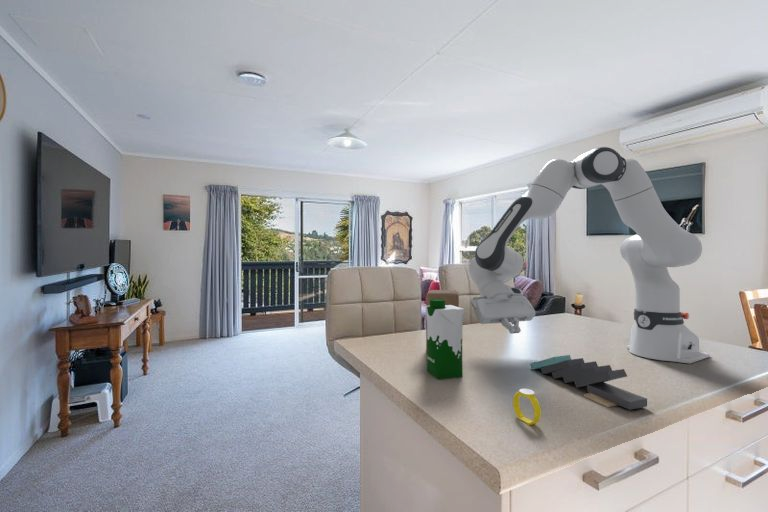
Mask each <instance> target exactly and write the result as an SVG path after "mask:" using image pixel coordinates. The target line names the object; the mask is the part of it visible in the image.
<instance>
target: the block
mask: <svg viewBox="0 0 768 512" xmlns="http://www.w3.org/2000/svg"><path fill="white" fill-rule="evenodd" d="M425 297H426V298H425V299H426V300H425V301H426V302H425V304H426V305H425V307H426V306H430V299H444V300H445V305H453V306H456V307H459V303H460V302H459V301H460V299H459V298H460V297H459V291H458V290H451V289H450V290H448V289H445V290H444V289H431V290H428V292H427V293H426V295H425ZM459 308H460V307H459ZM425 316H426V320H425V322H426V323H425V324H426V326H425V329H426V330H425V331H426V332H425V339H426V341H425V342H426V343H425V344H426V345H425V346H426V348H425V350H426V351H425V352H426V354H427V315H426V314H425Z"/></svg>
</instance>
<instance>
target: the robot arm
mask: <svg viewBox="0 0 768 512" xmlns="http://www.w3.org/2000/svg"><path fill="white" fill-rule="evenodd" d="M599 185H601V186H604V188H606V190H607V191H608V193H609V194H610V197H611V199H612V202H613V204H614V206H615V209H616V211H617V213H618V215H619V217H620V220H621V221H622V223H623V224H624V225H625V226H627V227H628V228H630V229H632V231H634V232H635V234H634V235H631V236H629V237H627V238H625V239H624V240H623V241H622V243H621V245H620V247H619V248H620V250H619V251H620V255H621V257H622V258H623V260H625V262H626V263H627V265H628V266H629V268H630V271H631V274H632V277H633V280H634V286H635V287H634V288H635V308H634V310H633V319H634V323H633V324H632V325H631V330H630V339H629V344H626V349H628V350H629V353H631V354H633V355H635V356H638V357H643V358H646V359H650V360H651V359H652V360H657V361H666V362H677V363H683V364H693V363H696V362H698V361H701V360H704V359H707V358H710V357H711V355H710V353H709V352H706V351H704V350H701V349H700V339H699V336H697V335H696V334H695V333H694V332H693V331H692V330H690V329H689V328H688V327H687V326H686V325H685V321H684V320H689V318H690V314H689V312H682V311H680V307H681V305H680V304H681V303H680V300H681V299H680V297H681V296H680V295H681V293H680V292H681V291H680V290H681V289H680V287H679V284H677V282H675V281H674V279H673V278H672V277H671V275H670V272H669V270H668V268H680V267H684V266H689V265H692V264H694V263H696V262H698V260H699V259H700V257H701V255H702V253H703V245H702V242H701V240H700V238H699V237H698V236H696V235H695V234H693V233H691V232H689V231H687V230H686V229H685V228H683V227H681V226H680V225H679V224H678V223H677V221H675V220H674V219H673V218H672V216H670V214H669V213H668V212H667V211H666V209H665V208H664V206H663V203H662V202H661V200H660V197H659V196H658V193H657V191H656V189H655V187H654V184H653V183H652V181H651V179H650V177H649V175H648V174H647V172H646V170H645V169H644V168H643V166H642V164H640V162H639V161H638V160H636V159H633V158H624V157H623V156H621V155H620V153H619V152H618V151H616V150H615V149H613V148H611V147H608V146H601V147H595V148H593V149H591V150H588V151H586V152H584V153H582V154H580V155H578V156H577V157H576V158H574V159H572V160H570V161H567V160H566V159H561V158H554V159H551V160H549V161H548V162H546V163H545V165H544V166H543V167H542V169H540V171H539V172H538V173H537V175H536V176H535V178H534V179H533V181H532V182H531V184H530V186H529V187H528V189H527V190H526V192H525V193H524V194H523V195H522V196H519V197H518V198H516V199H515V200H514V201H513V202H512V204H510V206H509V207H508V208H507V209H506V211H505V212H504V213H503V214H502V216H501V218H500V219H499V220H498V222H496V224H495V226H494V227H493V229H492V230H491V231H490V232H489V233H488V235H486V236H485V237H484V238H483V239H482V240H481V241H480V242H479V243H478V245H477V246H476V248H475V253H474V257H473V258H472V259H470V261H469V263H468V273H469V275H470V278H471V281H472V283H473V285H474V286H475V287H476V288H477V289H478V293H479V295H480V296H478V297H477V296H474V297H472V298H471V299H470V304H471V306H472V308H473V313H474V315H475V317H476V320H477V322H478V323H479V324H480V325H487V324H489V325H490V324H501V326H503V327H504V328H505V329H506V330H508V332H509V334H519V333H521V331H522V329H521V327H520V322H528V321H529V322H530V321H532V320H533V319H534V317H535V316H536V310H535V308H534V306H533V305H532V303H531V302H530V301H529V299H528V297H526V296H524V292H523V290H522V289H521V288H517V287H513V286H510V285H507V284H505V283H506V282H509V281H510V280H512V279H514V278H516V277H517V276H518V275H520V273H522V271H523V270H524V266H525V260H524V257H523V255H522V254H521V253H519V252H518V251H517V250H515V249H513V248H511V247H510V246H508V242H509V240H511V238H512V237H513V235H514V234H515V233H516V231H517V230H518V228H519V227H520V225H522V223H523V222H525V221H527V220H531V219H536V220H537V219H538V220H541V219H542V220H543V219H546V218H549V217H551V216H553V214H555V213H556V212H557V210H558V209H560V207H561V204H562V203H563V201H564V200H565V198H566V196H567V194H568V192H569V191H570V190H571V189H577V190H584V189H588V188H594V187H597V186H599Z"/></svg>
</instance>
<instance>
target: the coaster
mask: <svg viewBox="0 0 768 512" xmlns="http://www.w3.org/2000/svg"><path fill="white" fill-rule="evenodd" d="M583 397H584V398H586V399H589V400H590V401H594V402H596V403H597V404H600V405H601V406H605V407H607V408H611V407H617V406H619V405H617V404H615V403H613V402H610V401H608V400H606V399H603V398H601V397H599V396H596V395H594V394H592V393H589V392H587V393H585V394H583Z"/></svg>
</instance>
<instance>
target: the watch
mask: <svg viewBox="0 0 768 512" xmlns="http://www.w3.org/2000/svg"><path fill="white" fill-rule="evenodd" d="M521 397H523V398H527V399H528V400H529V401H530V403H531V405H532V408H533V413H534V414H533V415H534V416H533V419H532V420H531V419H530V418H527V417H525V416H524V413H523V412H522V410H521V406H520V398H521ZM512 406H513V411H514V413H515V415H516V417H517V418H518V419H519V420H520V421H522V422H524V423H525V424H527V425H528V426H532V425H536V424H538V423H539V422H540V419H541V416H542V411H541V410H542V409H541V406H540V402H539V401H538V399H537V398H536V396H535V392H534V390H532V389H529V388H520V389H519V391H517V392H515V394H514V396H513V398H512Z"/></svg>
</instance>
